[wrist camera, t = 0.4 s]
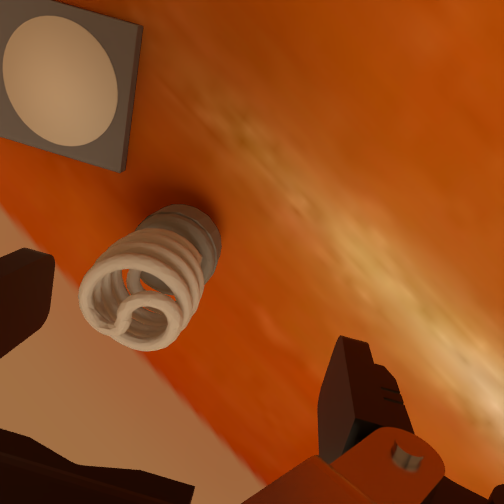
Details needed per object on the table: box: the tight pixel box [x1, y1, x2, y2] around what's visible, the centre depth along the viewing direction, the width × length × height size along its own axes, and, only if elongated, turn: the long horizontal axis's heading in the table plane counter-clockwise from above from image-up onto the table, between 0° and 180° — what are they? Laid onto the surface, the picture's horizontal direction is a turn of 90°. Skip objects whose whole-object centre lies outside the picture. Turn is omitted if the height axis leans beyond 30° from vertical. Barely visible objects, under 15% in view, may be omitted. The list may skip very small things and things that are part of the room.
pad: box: [0, 0, 143, 173], centre depth 28 cm, size 9×9×1 cm
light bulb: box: [78, 204, 222, 351], centre depth 26 cm, size 6×6×12 cm
